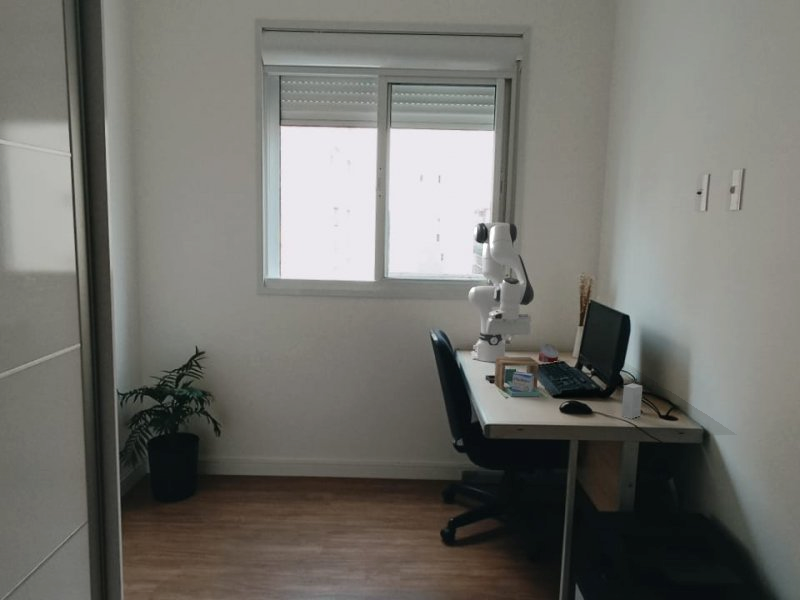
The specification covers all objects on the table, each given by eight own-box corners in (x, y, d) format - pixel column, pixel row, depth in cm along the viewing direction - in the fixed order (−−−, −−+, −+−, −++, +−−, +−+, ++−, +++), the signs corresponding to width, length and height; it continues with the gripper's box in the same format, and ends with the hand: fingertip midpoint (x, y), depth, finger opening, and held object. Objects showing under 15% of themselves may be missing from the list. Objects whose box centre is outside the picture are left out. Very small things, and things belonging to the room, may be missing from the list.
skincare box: (629, 413, 206) (632, 382, 205) (640, 416, 203) (643, 385, 201) (620, 416, 203) (623, 385, 201) (631, 419, 199) (634, 388, 198)
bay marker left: (498, 390, 231) (498, 389, 230) (501, 390, 231) (501, 389, 231) (505, 398, 221) (505, 396, 221) (508, 398, 221) (508, 396, 221)
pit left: (485, 378, 249) (485, 375, 249) (496, 378, 250) (496, 375, 250) (489, 382, 242) (489, 379, 242) (500, 382, 243) (500, 379, 243)
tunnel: (494, 384, 241) (495, 357, 239) (528, 383, 242) (530, 357, 241) (501, 390, 231) (502, 362, 229) (536, 390, 233) (538, 362, 231)
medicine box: (511, 393, 227) (512, 372, 226) (514, 390, 231) (515, 370, 230) (530, 396, 224) (531, 375, 223) (533, 393, 228) (534, 373, 226)
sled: (496, 381, 244) (497, 368, 243) (522, 381, 245) (523, 368, 245) (511, 396, 223) (512, 382, 222) (539, 396, 224) (540, 381, 223)
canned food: (554, 368, 291) (564, 353, 289) (550, 370, 282) (561, 354, 280) (536, 356, 295) (546, 340, 293) (532, 357, 286) (542, 342, 284)
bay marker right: (536, 390, 233) (536, 389, 232) (539, 390, 233) (539, 389, 233) (545, 397, 223) (545, 396, 223) (548, 397, 223) (548, 396, 223)
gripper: (528, 312, 251) (526, 341, 253) (485, 312, 248) (484, 341, 251) (533, 315, 245) (531, 345, 247) (489, 315, 242) (487, 345, 245)
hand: (507, 343), depth 249 cm, fingers closed
